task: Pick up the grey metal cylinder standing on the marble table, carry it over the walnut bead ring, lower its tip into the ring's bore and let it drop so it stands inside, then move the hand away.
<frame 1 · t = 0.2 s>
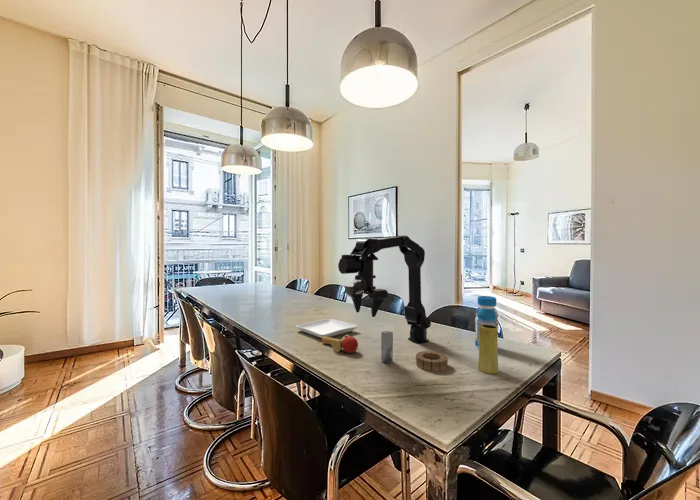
hand: (365, 314, 112), 14 cm above the table, tool pointing down, fingers open, 9 cm apart
kendama: (338, 349, 118), on the table
bead ring: (431, 365, 102), on the table
beverage bottle: (486, 348, 120), on the table
salad plate: (326, 332, 140), on the table
grey metal cylinder: (386, 361, 105), on the table
vase: (488, 370, 98), on the table
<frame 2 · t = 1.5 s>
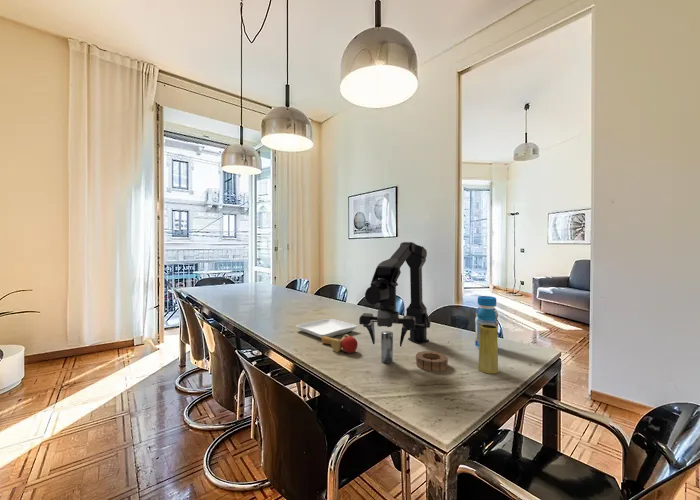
hand: (387, 345, 105), 6 cm above the table, tool pointing down, fingers open, 9 cm apart
nothing on the table moved.
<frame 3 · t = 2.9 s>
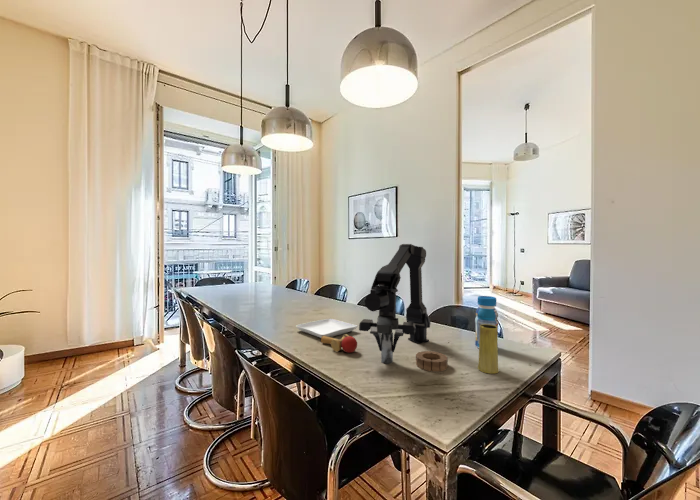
hand: (387, 351, 104), 4 cm above the table, tool pointing down, fingers closed on grey metal cylinder, 4 cm apart
grey metal cylinder: (386, 361, 105), on the table, touching gripper
everything else where it was.
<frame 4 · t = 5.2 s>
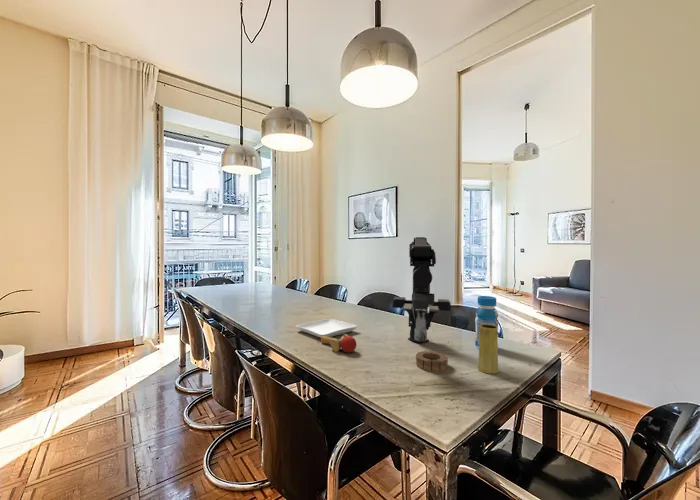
hand: (420, 329, 102), 12 cm above the table, tool pointing down, fingers closed on grey metal cylinder, 4 cm apart
grey metal cylinder: (420, 339, 102), point 8 cm above the table, touching gripper
everything else where it was.
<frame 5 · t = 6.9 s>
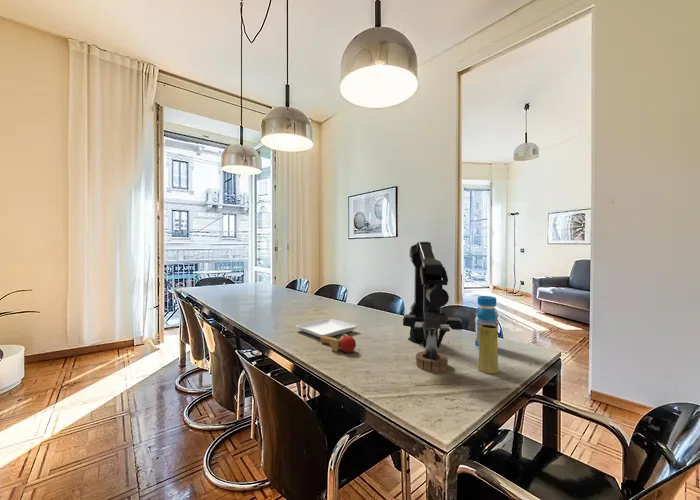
hand: (431, 347, 102), 6 cm above the table, tool pointing down, fingers closed on grey metal cylinder, 4 cm apart
grey metal cylinder: (431, 357, 102), point 2 cm above the table, touching gripper
when the fingers open (5 cm above the table, at t = 7.8 s): grey metal cylinder drops 2 cm, resting in bead ring.
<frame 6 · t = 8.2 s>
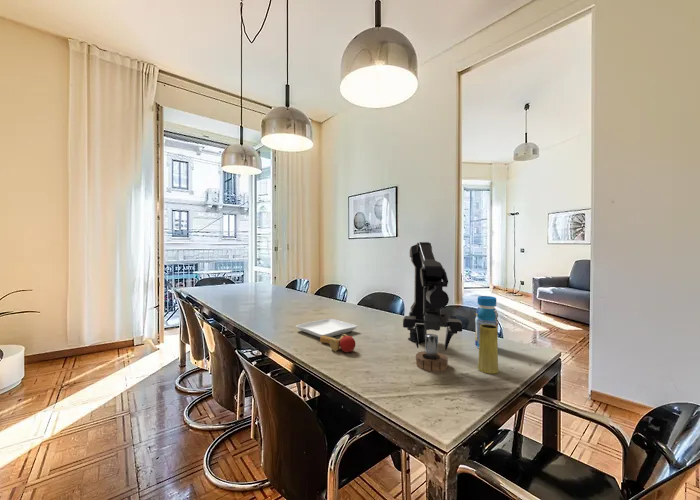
hand: (431, 348, 101), 5 cm above the table, tool pointing down, fingers open, 9 cm apart
grey metal cylinder: (431, 365, 102), resting in bead ring
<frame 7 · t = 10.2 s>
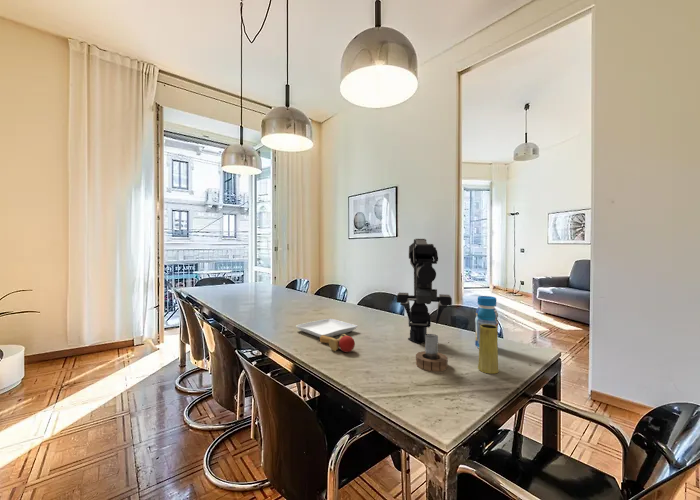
hand: (423, 322, 108), 13 cm above the table, tool pointing down, fingers open, 9 cm apart
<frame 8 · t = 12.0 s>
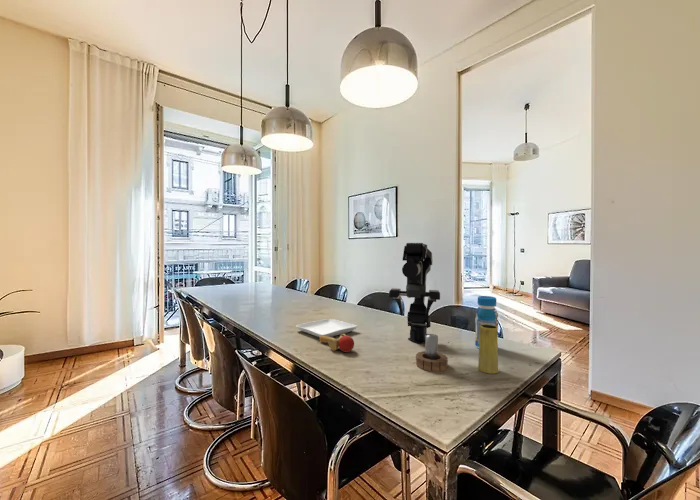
hand: (414, 316, 116), 13 cm above the table, tool pointing down, fingers open, 9 cm apart
at the end: grey metal cylinder 0.0 cm from the bead ring (horizontally); grey metal cylinder resting in bead ring; grey metal cylinder tilted 0° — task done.
